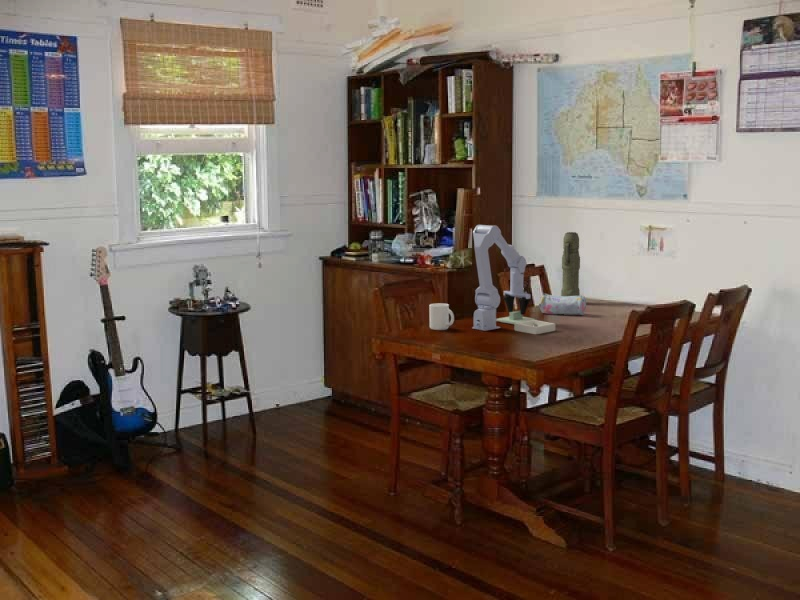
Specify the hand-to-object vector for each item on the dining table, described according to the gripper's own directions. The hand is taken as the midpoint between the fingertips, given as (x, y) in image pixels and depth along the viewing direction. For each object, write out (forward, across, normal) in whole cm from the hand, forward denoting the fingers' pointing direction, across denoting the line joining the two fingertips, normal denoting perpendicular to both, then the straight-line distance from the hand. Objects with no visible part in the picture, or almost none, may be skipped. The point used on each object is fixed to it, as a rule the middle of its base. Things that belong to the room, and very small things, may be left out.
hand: (516, 313), depth 411 cm
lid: (+3, 0, 0) cm, 3 cm away
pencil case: (+4, -1, -30) cm, 30 cm away
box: (+4, -19, +9) cm, 21 cm away
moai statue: (+4, +17, -56) cm, 59 cm away
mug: (+4, +10, +35) cm, 37 cm away
